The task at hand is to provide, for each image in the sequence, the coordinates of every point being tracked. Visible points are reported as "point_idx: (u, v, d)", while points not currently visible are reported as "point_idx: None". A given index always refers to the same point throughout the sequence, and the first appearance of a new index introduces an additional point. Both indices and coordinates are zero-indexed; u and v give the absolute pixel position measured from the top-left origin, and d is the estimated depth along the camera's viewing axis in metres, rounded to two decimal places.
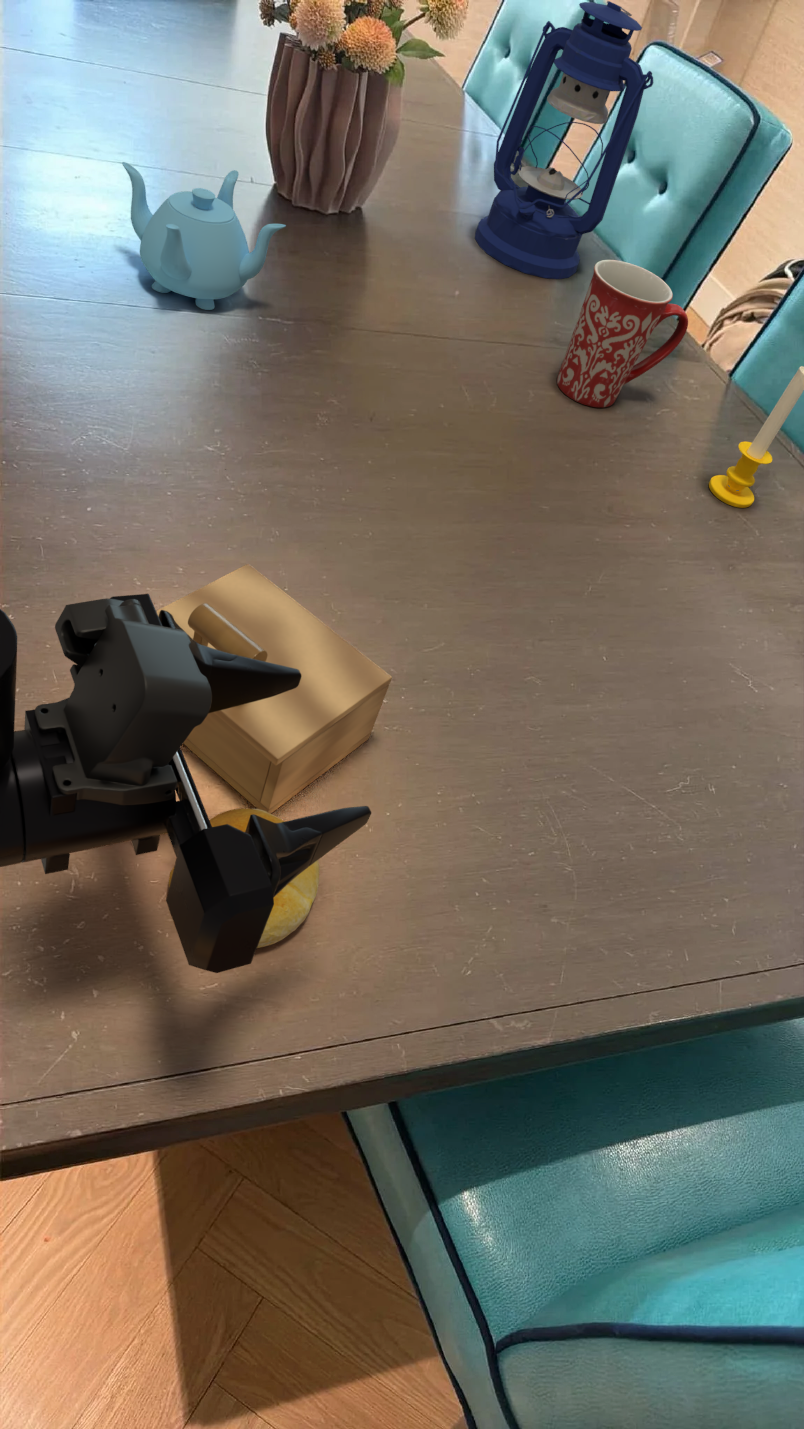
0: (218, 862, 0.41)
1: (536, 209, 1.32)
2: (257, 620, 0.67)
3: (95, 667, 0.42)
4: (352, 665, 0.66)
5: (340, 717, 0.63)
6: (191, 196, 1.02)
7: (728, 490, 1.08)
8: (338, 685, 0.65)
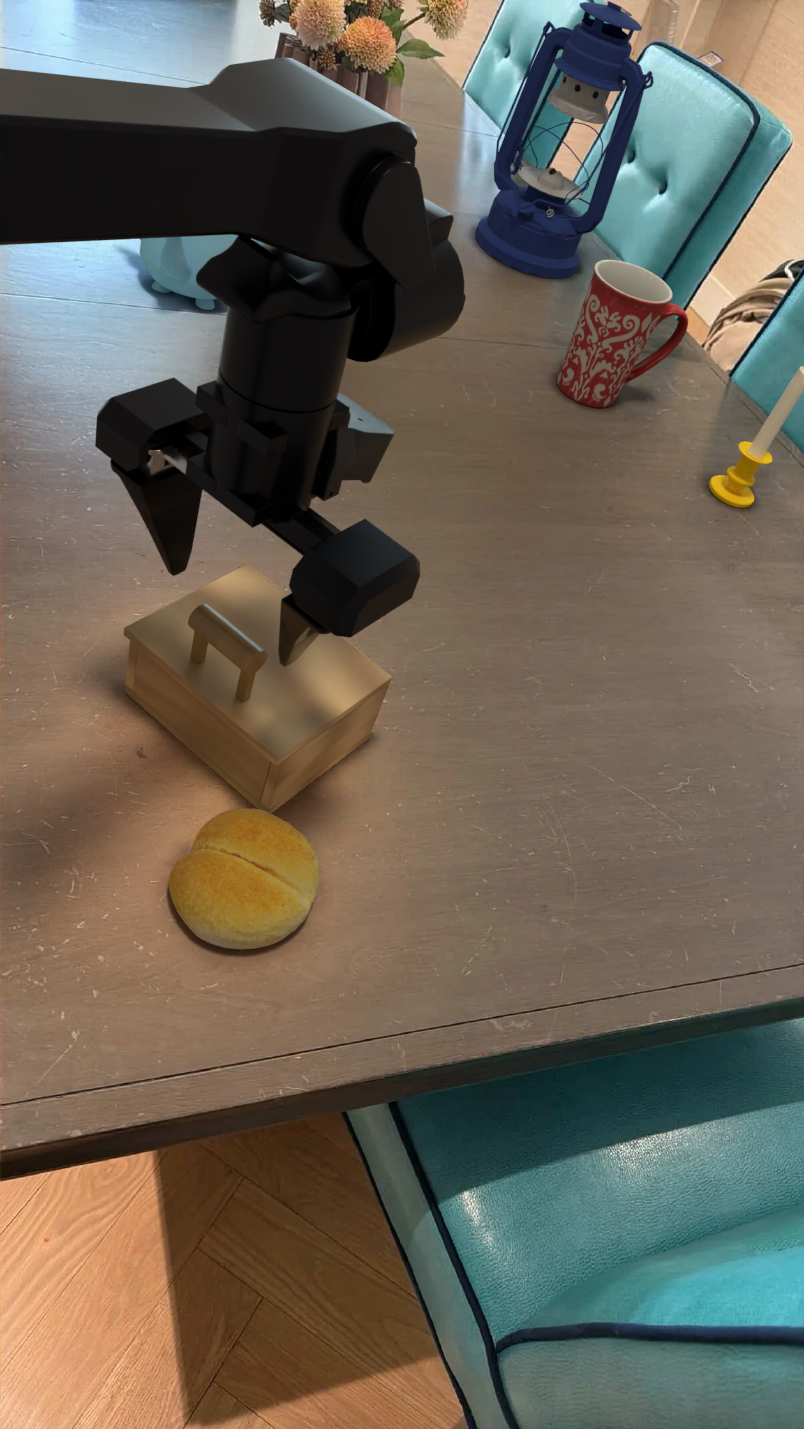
0: None
1: (536, 209, 1.32)
2: (257, 620, 0.67)
3: None
4: (352, 665, 0.66)
5: (340, 717, 0.63)
6: None
7: (728, 490, 1.08)
8: (338, 685, 0.65)
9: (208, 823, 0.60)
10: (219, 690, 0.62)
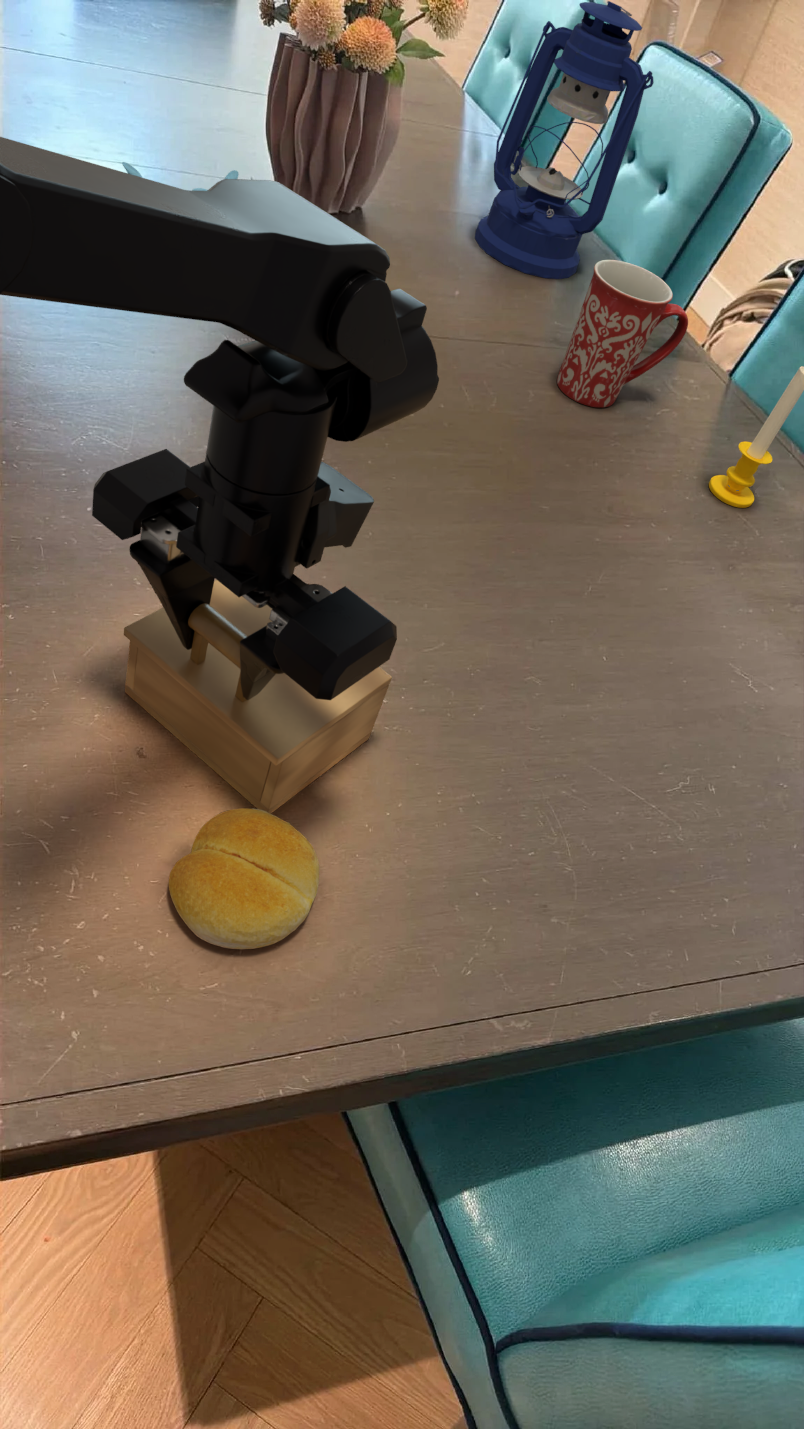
0: None
1: (536, 209, 1.32)
2: (257, 620, 0.67)
3: None
4: None
5: (340, 717, 0.63)
6: None
7: (728, 490, 1.08)
8: None
9: (208, 823, 0.60)
10: (219, 690, 0.62)
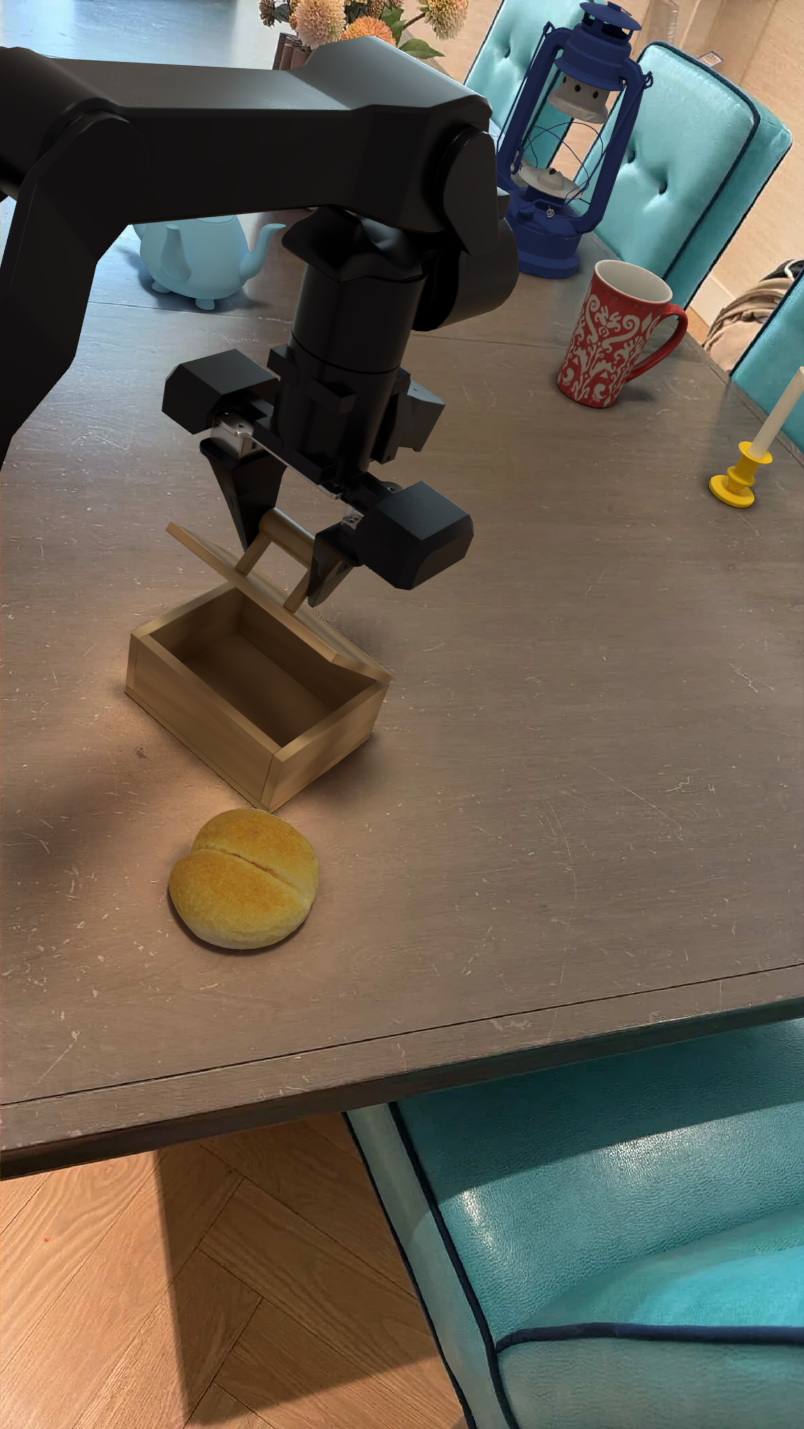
0: None
1: (536, 209, 1.32)
2: (275, 588, 0.66)
3: None
4: (361, 652, 0.66)
5: (365, 671, 0.62)
6: None
7: (728, 490, 1.08)
8: (357, 653, 0.64)
9: (208, 823, 0.60)
10: (268, 595, 0.59)
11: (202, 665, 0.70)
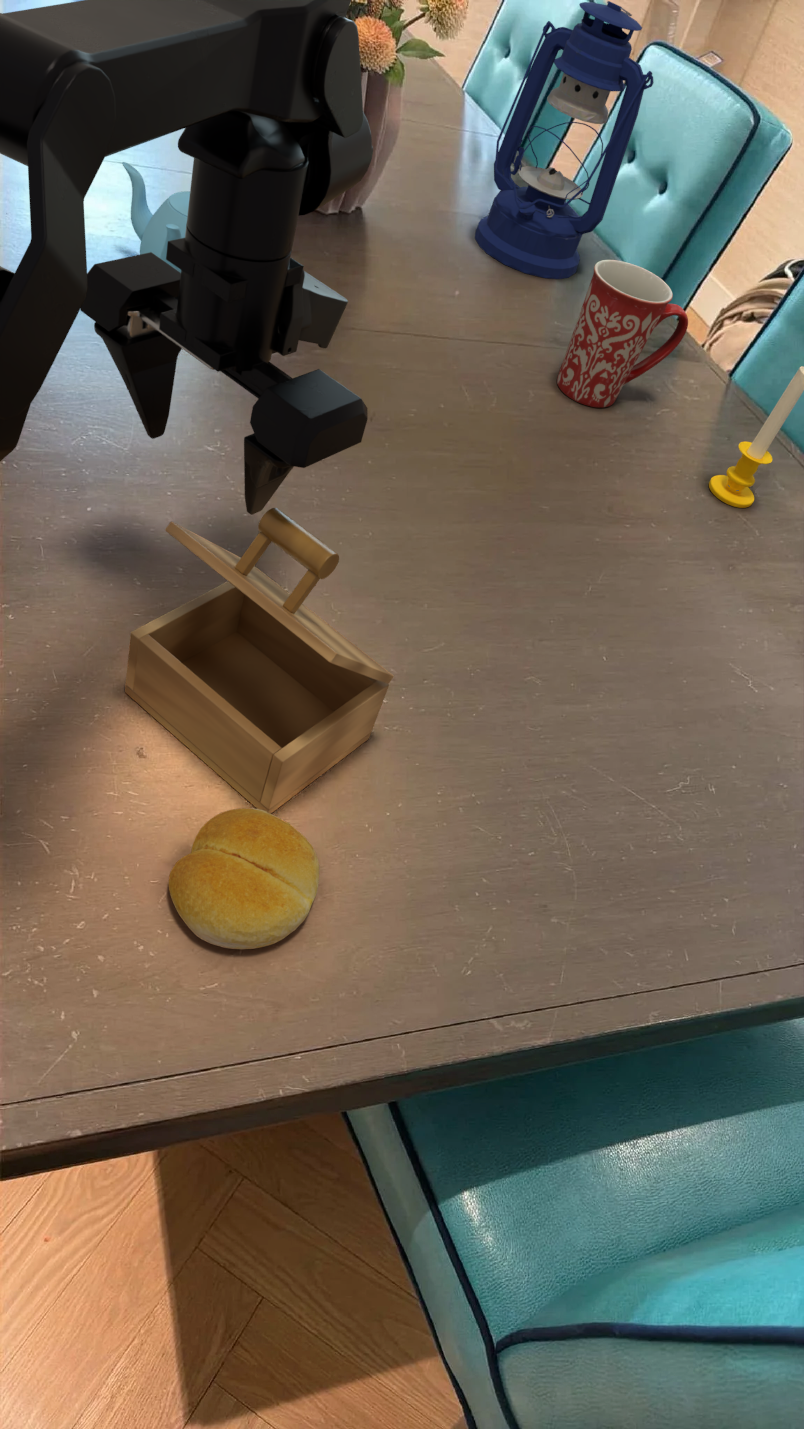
0: None
1: (536, 209, 1.32)
2: (275, 588, 0.66)
3: None
4: (361, 652, 0.66)
5: (365, 672, 0.62)
6: None
7: (728, 490, 1.08)
8: (357, 653, 0.64)
9: (208, 823, 0.60)
10: (267, 595, 0.59)
11: (202, 665, 0.70)
